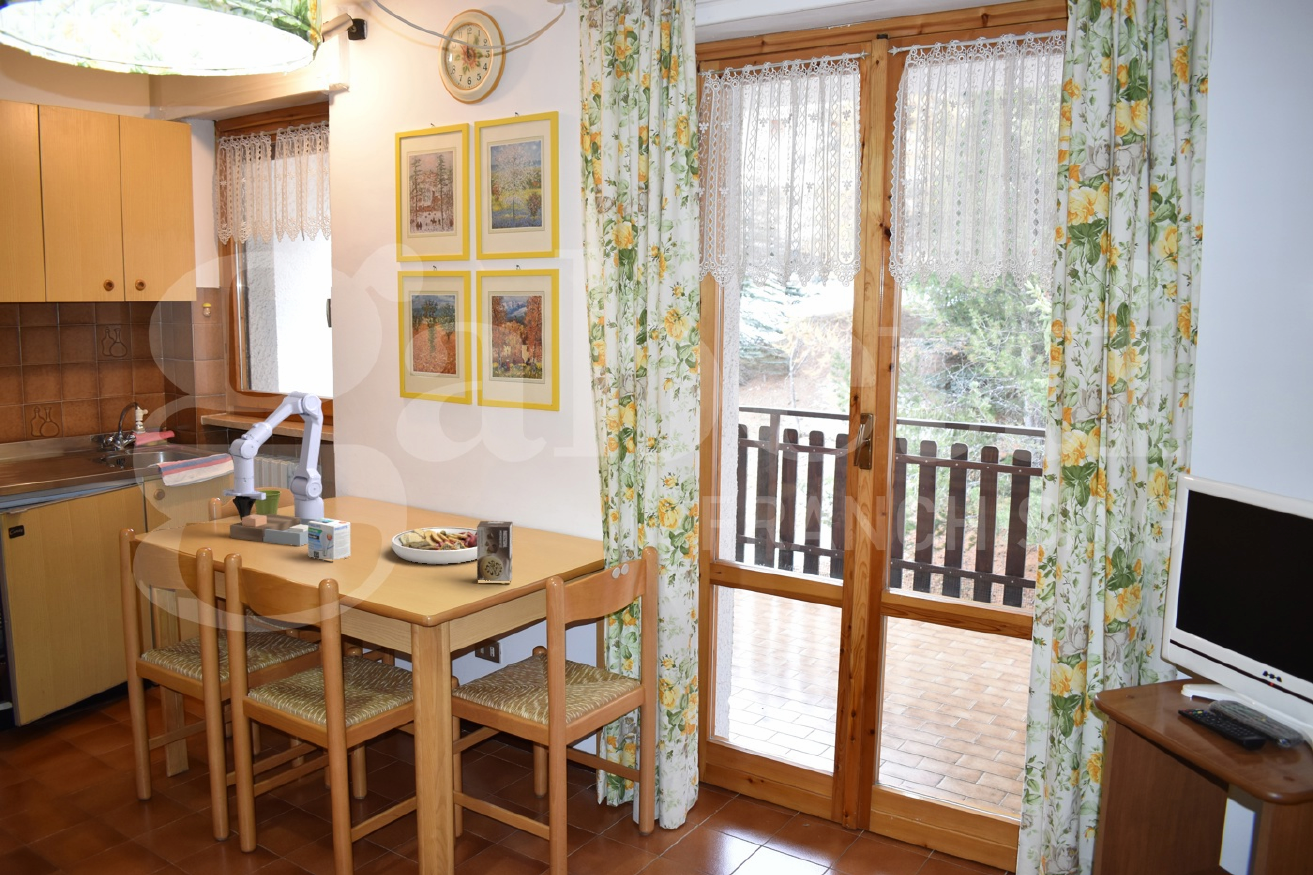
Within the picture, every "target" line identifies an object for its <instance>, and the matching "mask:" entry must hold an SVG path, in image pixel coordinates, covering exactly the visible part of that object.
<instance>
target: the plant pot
mask: <svg viewBox="0 0 1313 875" xmlns="http://www.w3.org/2000/svg"><path fill="white" fill-rule="evenodd" d="M258 491H259V492H263V493H266V499H264V500H259V499H256V501H255V503H254V505H255V510H256V515H267V514H274V515H278V507H279V501H280V497H281V494H282V491H281V490H278V489H277V490H276V489H275V490H274V489H262V490H261V489H260V490H258Z"/></svg>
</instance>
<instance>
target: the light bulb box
mask: <svg viewBox="0 0 1313 875" xmlns="http://www.w3.org/2000/svg"><path fill="white" fill-rule="evenodd" d="M307 545H308V546H307V547H308V549H307V551H308V552H307V554H308V556H310V557H309V558H311V557H315V558H319V559H332V560H334V559H340V558H344V557H348V556H351V522H350V521H345V520H338V519H333V518H328V517H324V518H322V519H318V520H314V521H309V522H308V544H307ZM308 556H307V557H308ZM315 558H314V559H315ZM319 559H318V560H319Z"/></svg>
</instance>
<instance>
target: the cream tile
mask: <svg viewBox="0 0 1313 875" xmlns="http://www.w3.org/2000/svg"><path fill="white" fill-rule="evenodd" d="M307 530H308V525H302V524H299V525H296V526H293V527H290V532H295V533H301V532H304V531H307Z"/></svg>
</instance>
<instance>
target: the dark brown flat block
mask: <svg viewBox="0 0 1313 875" xmlns="http://www.w3.org/2000/svg"><path fill="white" fill-rule="evenodd" d="M265 516H267V524H263V525H260V526H257V527H253V526H244V525H242V521H240V522H236V523H232V524H230V525H229V538H230V539H237V540H238V539H239V540H245V541H255V542H261V543H262V542H263V537H265V529H270V530H279V531H284V530H287V529H290V527H293V526H296V525H299V524H300V517H295V516H291V515H284V514H283V515H280V514H277V515H274V514H267V515H265ZM263 543H264V542H263Z"/></svg>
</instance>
